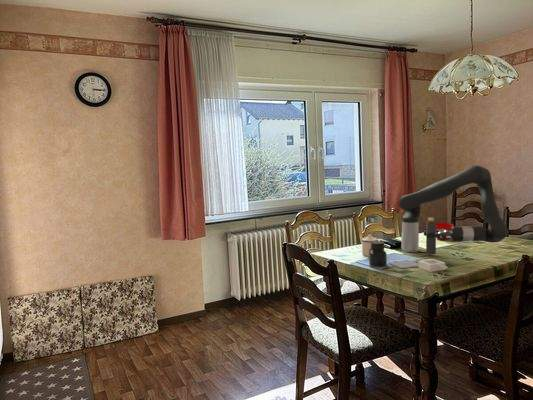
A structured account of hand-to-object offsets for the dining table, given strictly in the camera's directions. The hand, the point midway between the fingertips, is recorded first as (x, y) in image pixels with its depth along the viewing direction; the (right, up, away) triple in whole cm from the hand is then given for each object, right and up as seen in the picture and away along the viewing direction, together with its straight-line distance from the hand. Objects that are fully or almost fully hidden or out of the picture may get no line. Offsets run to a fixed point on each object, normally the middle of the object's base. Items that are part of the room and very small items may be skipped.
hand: (425, 234), depth 205 cm
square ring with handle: (+4, -17, -2) cm, 18 cm away
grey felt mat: (-7, -17, +10) cm, 21 cm away
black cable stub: (+3, -9, +1) cm, 10 cm away
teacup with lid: (-17, -15, +36) cm, 43 cm away
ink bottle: (-20, -17, +13) cm, 29 cm away
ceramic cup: (+38, -9, +68) cm, 79 cm away
